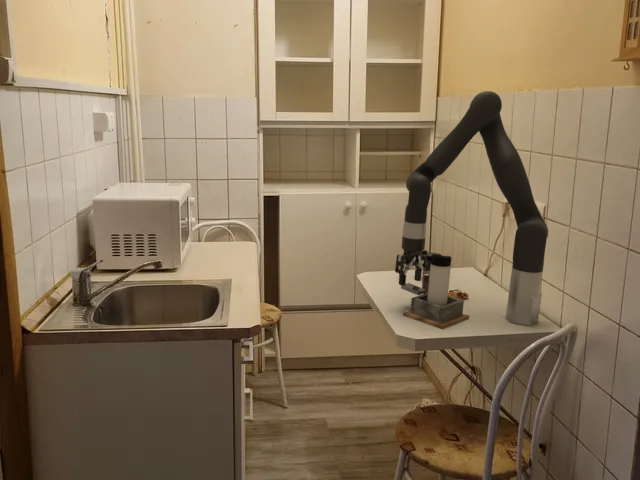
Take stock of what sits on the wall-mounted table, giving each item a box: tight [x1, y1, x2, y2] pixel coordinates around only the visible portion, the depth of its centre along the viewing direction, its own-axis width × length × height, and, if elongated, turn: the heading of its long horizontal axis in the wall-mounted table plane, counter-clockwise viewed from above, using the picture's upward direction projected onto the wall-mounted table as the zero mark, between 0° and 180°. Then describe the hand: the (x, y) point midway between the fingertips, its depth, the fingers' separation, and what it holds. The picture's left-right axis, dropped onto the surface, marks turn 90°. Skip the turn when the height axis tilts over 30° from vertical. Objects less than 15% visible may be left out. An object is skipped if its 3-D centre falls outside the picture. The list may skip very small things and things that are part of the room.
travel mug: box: [427, 253, 453, 306], centre depth 188 cm, size 6×7×20 cm
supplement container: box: [421, 251, 443, 280], centre depth 230 cm, size 7×7×10 cm
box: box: [421, 270, 430, 294], centre depth 215 cm, size 6×6×7 cm
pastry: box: [448, 288, 469, 301], centre depth 210 cm, size 7×12×4 cm, turn 132°
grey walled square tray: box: [402, 293, 470, 330], centre depth 191 cm, size 15×15×6 cm
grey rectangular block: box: [400, 282, 426, 296], centre depth 196 cm, size 7×4×1 cm, turn 45°
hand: (409, 282), depth 197 cm, fingers open, 8 cm apart
